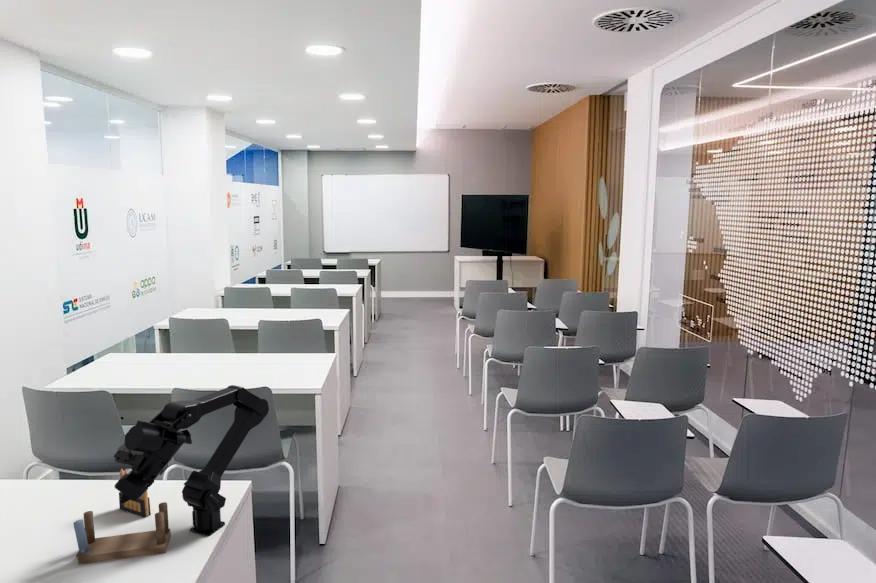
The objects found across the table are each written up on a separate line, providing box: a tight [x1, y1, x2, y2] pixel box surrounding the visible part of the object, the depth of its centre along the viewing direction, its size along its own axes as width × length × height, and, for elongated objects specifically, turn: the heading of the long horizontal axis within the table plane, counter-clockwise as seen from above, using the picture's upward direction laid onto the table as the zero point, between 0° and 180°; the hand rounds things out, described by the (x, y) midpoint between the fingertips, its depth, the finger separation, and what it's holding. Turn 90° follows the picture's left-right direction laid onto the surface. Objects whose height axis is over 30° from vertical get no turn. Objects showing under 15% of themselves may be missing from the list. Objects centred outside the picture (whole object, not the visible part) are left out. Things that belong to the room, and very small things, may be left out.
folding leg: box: [73, 519, 88, 554], centre depth 142 cm, size 2×2×8 cm
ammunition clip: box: [118, 468, 152, 519], centre depth 166 cm, size 11×2×12 cm, turn 64°
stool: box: [75, 501, 172, 566], centre depth 147 cm, size 20×8×10 cm, turn 105°
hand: (121, 501), depth 146 cm, fingers closed
